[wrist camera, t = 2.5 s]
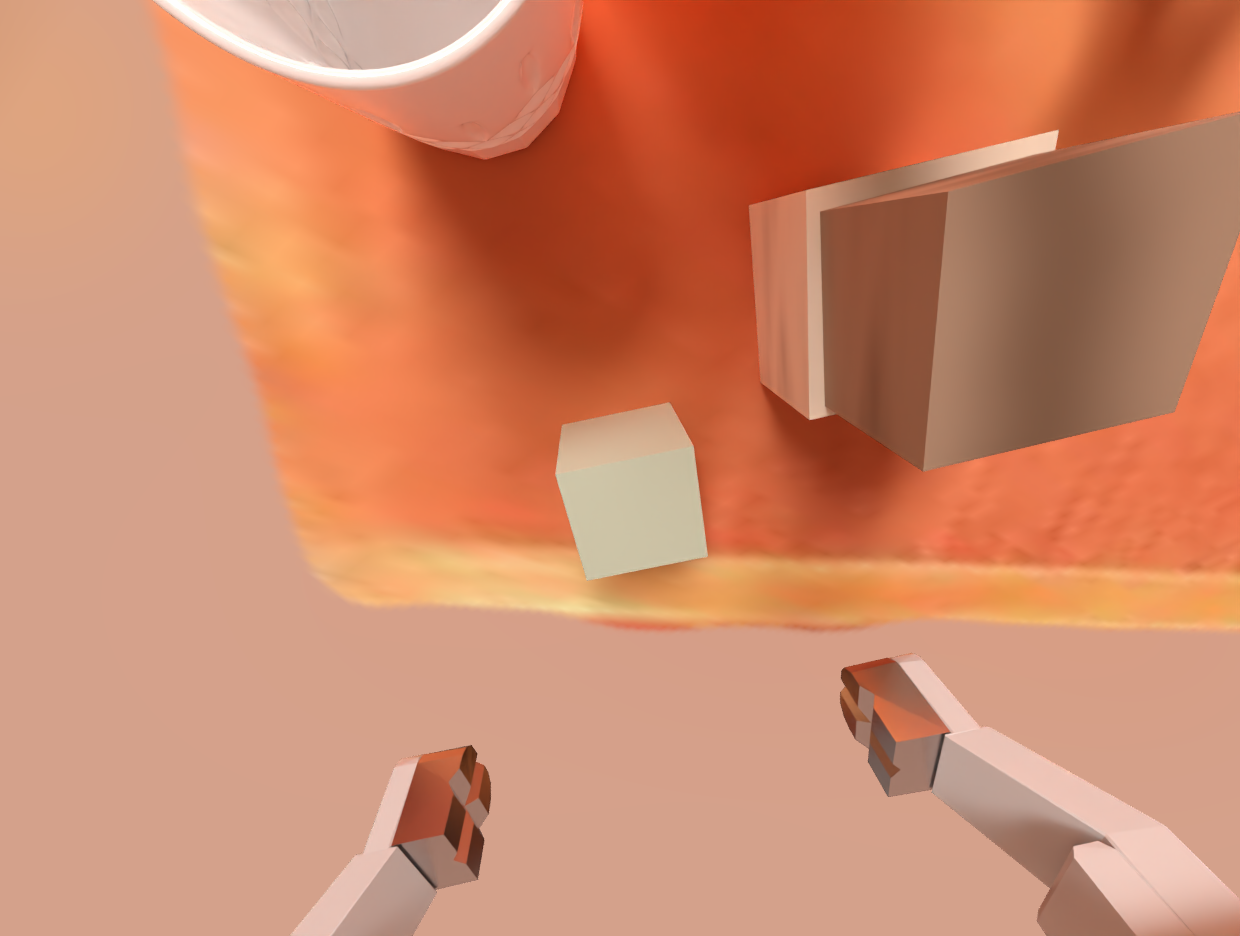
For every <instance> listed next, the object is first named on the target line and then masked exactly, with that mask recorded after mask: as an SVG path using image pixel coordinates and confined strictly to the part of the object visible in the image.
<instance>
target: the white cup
mask: <svg viewBox="0 0 1240 936" xmlns="http://www.w3.org/2000/svg"><path fill="white" fill-rule="evenodd" d="M153 1H154V2H155V3H156V4H157V5H159V6H160V7H161V8H162V9H164V10H165V11H166V12H168V13H169V14H170V15H171V16H173V17H174V18H176V19H177V20H178V21H180V22H181V23H182V24H184V25H185V26H187V27H188V28H189V29H191V30H192V31H194V32H195V33H197V34H198V35H200V36H202V37H203V38H205V39H206V40H208V41H209V42H211V43H213V44H214V45H216V46H218V47H220V48H221V49H223V50H225V51H227V52H228V53H230V54H232V55H234V56H236V57H238V58H240V59H242V60H244V61H246V62H248V63H250V64H252V65H254V66H256V67H259V68H261V69H263V70H265V71H267V72H269V73H272V74H274V75H276V76H278V77H280V78H282V79H284V80H287V81H289V82H291V83H293V84H295V85H297V86H299V87H301V88H304V89H306V90H308V91H310V92H312V93H314V94H316V95H318V96H320V97H322V98H325V99H327V100H329V101H331V102H333V103H335V104H337V105H339V106H341V107H343V108H345V109H347V110H350V111H352V112H354V113H356V114H358V115H360V116H362V117H364V118H366V119H368V120H370V121H372V122H374V123H377V124H379V125H381V126H383V127H386V128H388V129H391V130H394V131H397V132H399V133H401V134H404V135H406V136H408V137H411V138H413V139H415V140H418V141H420V142H423V143H426V144H428V145H431V146H434V147H438V148H440V149H444V150H448V151H452V152H456V153H460V154H464V155H468V156H472V157H476V158H480V159H484V160H486V159H490V158H493V157H497V156H500V155H503V154H507V153H510V152H514V151H517V150H520V149H524V148H527V147H528V146H529V145H530V144H531V143H532V142H533V140H534V139H535V138H536V137H537V136H538V135H539V134H540V133H541V132H542V131H543V130H544V129H545V128H546V127H547V125H548V124H549V123H550V122H551V121H552V120H553V119H554V118H555V117H556V116H557V115H558V113H559V111H560V108H561V105H562V102H563V99H564V96H565V92H566V89H567V86H568V83H569V80H570V77H571V74H572V71H573V67H574V64H575V61H576V46H577V41H578V36H579V30H580V24H581V18H582V11H583V0H153Z"/></svg>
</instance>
